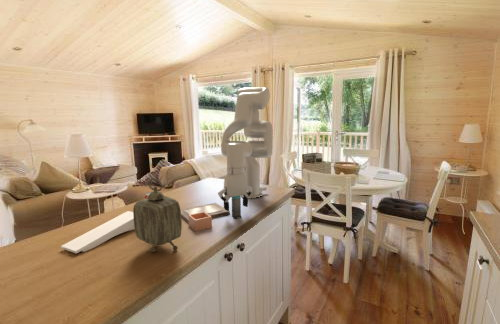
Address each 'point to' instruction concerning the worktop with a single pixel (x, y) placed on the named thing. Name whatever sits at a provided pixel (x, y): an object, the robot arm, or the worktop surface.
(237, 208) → the marker
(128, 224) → the white wedge
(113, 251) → the worktop surface
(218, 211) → the writing board
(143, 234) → the tabletop clock
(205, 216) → the orange square open box
